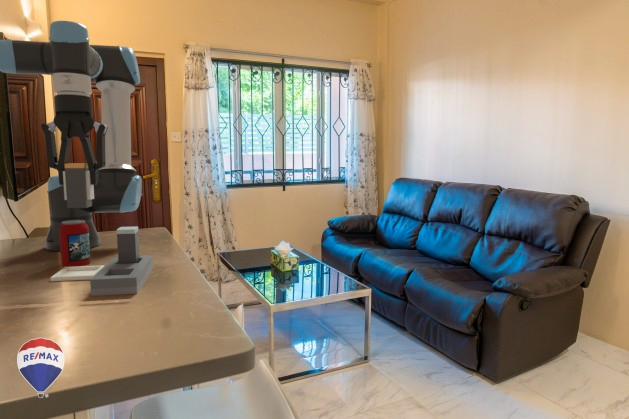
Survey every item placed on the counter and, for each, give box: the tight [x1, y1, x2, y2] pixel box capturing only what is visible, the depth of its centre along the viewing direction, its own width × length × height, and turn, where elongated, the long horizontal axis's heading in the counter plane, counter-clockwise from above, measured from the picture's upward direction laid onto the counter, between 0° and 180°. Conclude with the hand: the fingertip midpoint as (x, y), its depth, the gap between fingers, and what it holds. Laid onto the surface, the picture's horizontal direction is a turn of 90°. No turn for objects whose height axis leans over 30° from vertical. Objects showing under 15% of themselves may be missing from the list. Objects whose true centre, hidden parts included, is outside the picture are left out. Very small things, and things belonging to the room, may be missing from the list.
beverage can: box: [59, 220, 91, 268], centre depth 115 cm, size 7×7×12 cm
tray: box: [50, 264, 106, 282], centre depth 106 cm, size 9×9×2 cm
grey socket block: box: [89, 254, 154, 297], centre depth 101 cm, size 20×9×4 cm, turn 11°
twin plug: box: [116, 226, 141, 264], centre depth 106 cm, size 4×4×10 cm
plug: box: [65, 162, 92, 208], centre depth 101 cm, size 4×4×10 cm
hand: (79, 199), depth 101 cm, fingers closed on plug, 4 cm apart
